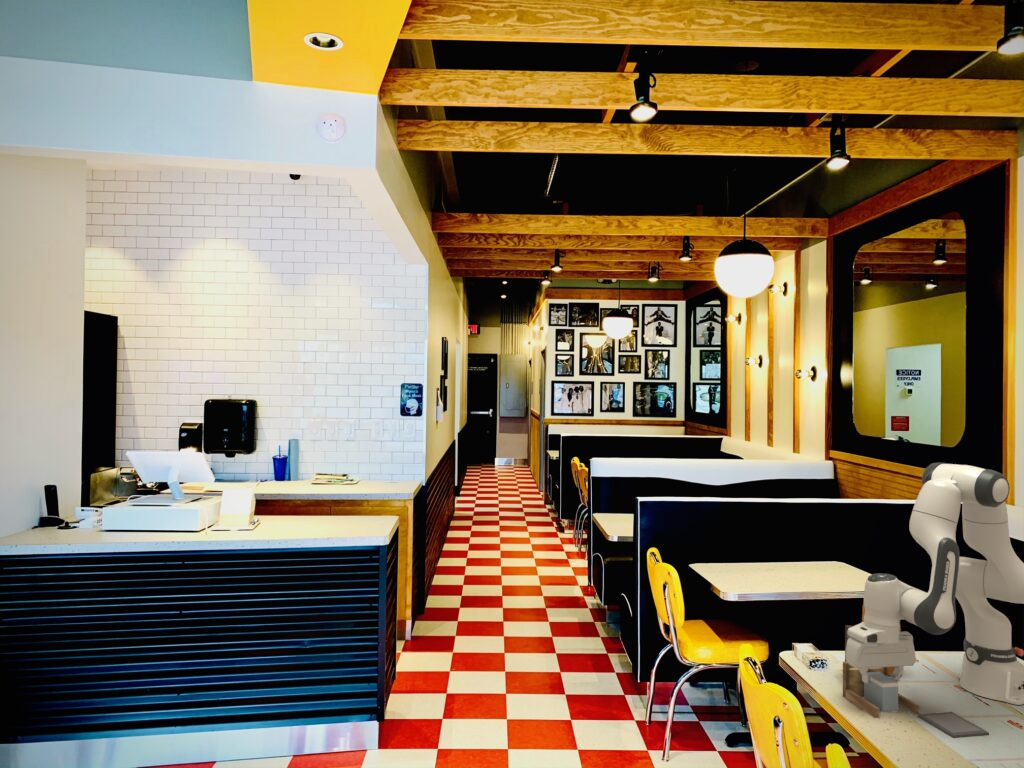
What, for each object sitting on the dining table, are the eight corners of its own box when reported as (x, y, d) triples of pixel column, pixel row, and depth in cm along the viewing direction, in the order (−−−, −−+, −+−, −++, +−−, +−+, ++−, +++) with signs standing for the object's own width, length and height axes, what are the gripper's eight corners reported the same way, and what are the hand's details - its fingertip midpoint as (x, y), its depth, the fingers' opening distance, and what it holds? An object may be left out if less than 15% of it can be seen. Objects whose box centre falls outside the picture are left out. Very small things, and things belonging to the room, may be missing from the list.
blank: (879, 699, 180) (879, 671, 180) (898, 711, 173) (898, 682, 173) (863, 700, 179) (863, 672, 179) (882, 712, 172) (882, 683, 172)
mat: (951, 713, 172) (951, 711, 172) (989, 734, 161) (989, 732, 161) (917, 716, 170) (917, 714, 170) (953, 737, 159) (953, 735, 159)
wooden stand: (884, 693, 183) (884, 659, 184) (919, 714, 171) (919, 677, 171) (842, 696, 181) (842, 661, 181) (875, 717, 168) (875, 680, 169)
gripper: (903, 627, 181) (903, 675, 180) (842, 629, 177) (841, 678, 176) (921, 635, 175) (921, 684, 174) (858, 637, 171) (858, 688, 170)
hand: (880, 681), depth 175 cm, fingers open, 8 cm apart
